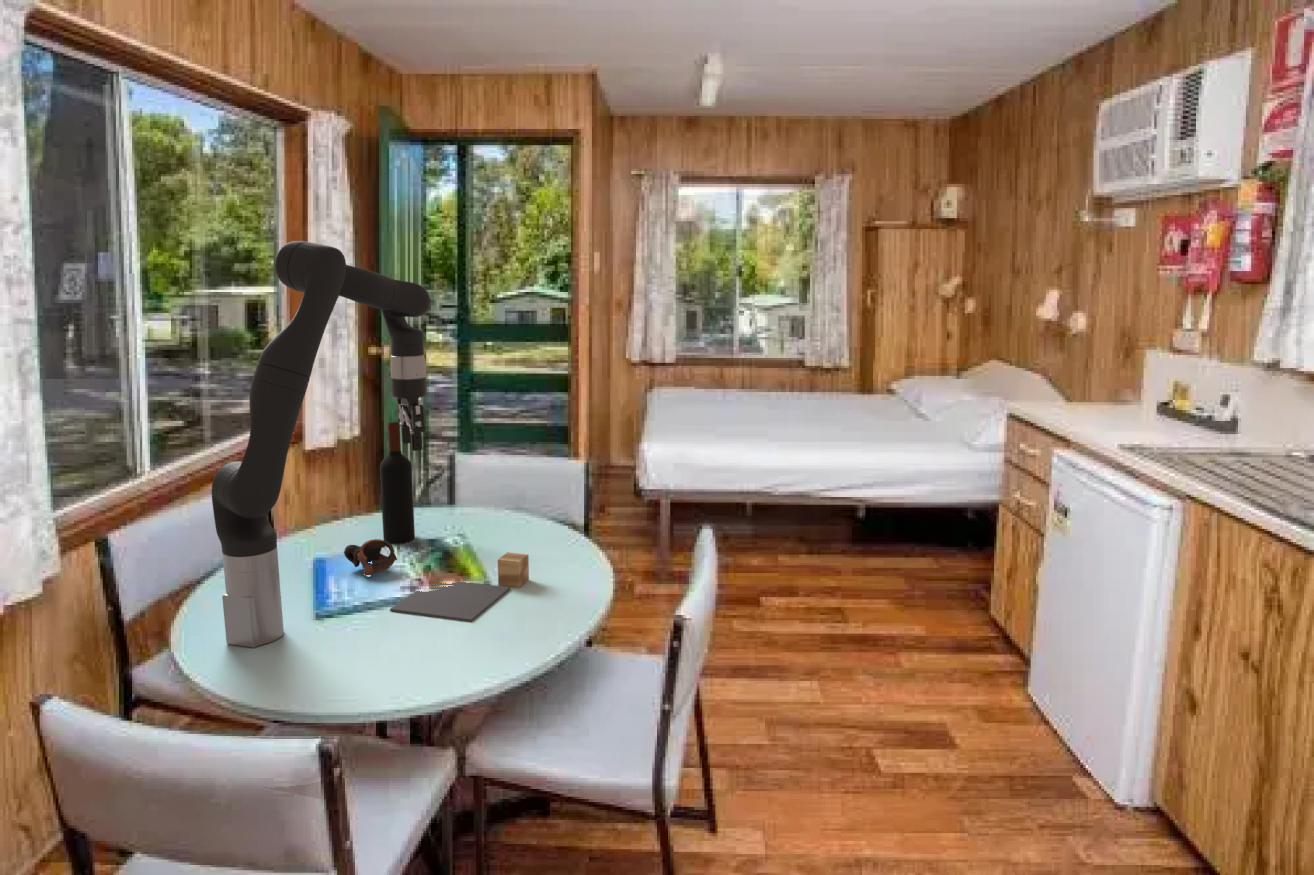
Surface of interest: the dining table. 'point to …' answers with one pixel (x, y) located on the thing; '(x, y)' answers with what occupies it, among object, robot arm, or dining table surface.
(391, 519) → the wine bottle
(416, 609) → the charcoal mat
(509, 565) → the oak block
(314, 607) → the dining table surface
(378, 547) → the brown hollow rounded piece
